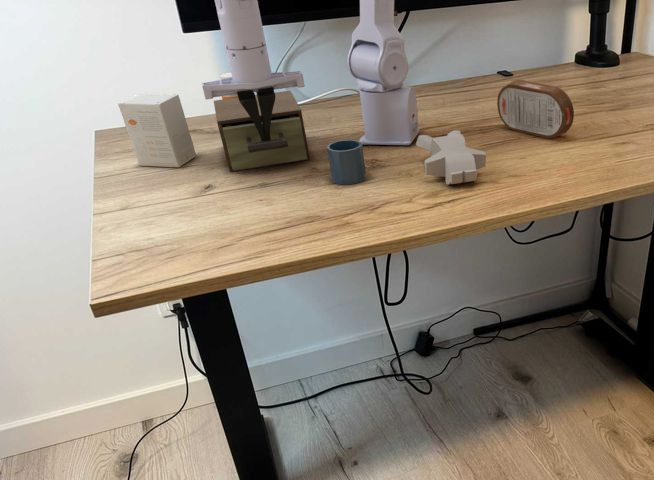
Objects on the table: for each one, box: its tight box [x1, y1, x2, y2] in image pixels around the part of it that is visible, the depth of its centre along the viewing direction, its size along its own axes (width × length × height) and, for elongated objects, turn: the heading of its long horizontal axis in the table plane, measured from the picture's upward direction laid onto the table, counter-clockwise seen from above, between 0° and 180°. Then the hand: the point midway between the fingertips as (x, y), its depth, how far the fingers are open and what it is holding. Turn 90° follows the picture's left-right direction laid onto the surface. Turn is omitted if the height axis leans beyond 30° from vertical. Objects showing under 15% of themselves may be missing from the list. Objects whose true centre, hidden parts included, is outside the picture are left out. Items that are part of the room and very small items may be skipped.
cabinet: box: [213, 90, 311, 173], centre depth 111 cm, size 13×13×8 cm
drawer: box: [223, 115, 307, 172], centre depth 107 cm, size 17×12×7 cm
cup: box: [326, 139, 367, 186], centre depth 100 cm, size 5×5×5 cm
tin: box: [496, 79, 575, 140], centre depth 113 cm, size 15×3×8 cm, turn 47°
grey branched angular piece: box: [415, 130, 487, 186], centre depth 101 cm, size 10×5×15 cm
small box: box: [117, 93, 197, 168], centre depth 109 cm, size 8×6×10 cm
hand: (265, 140), depth 102 cm, fingers closed
